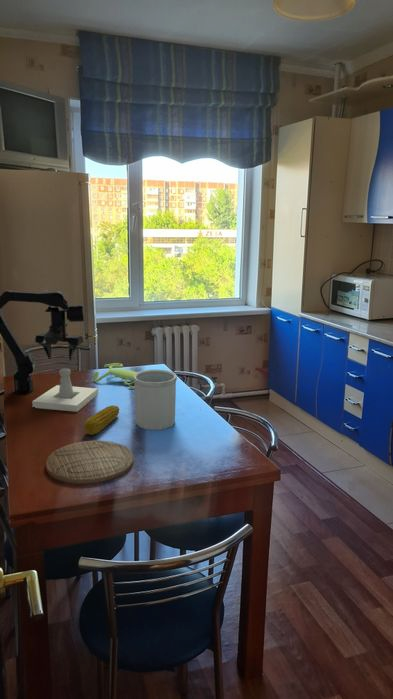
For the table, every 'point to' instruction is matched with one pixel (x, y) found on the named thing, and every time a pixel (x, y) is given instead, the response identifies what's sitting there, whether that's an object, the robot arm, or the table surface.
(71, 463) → the trivet
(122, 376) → the figurine
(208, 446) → the table surface
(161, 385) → the utensil holder
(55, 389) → the socket board
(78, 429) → the table surface
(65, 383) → the salt shaker
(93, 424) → the food
